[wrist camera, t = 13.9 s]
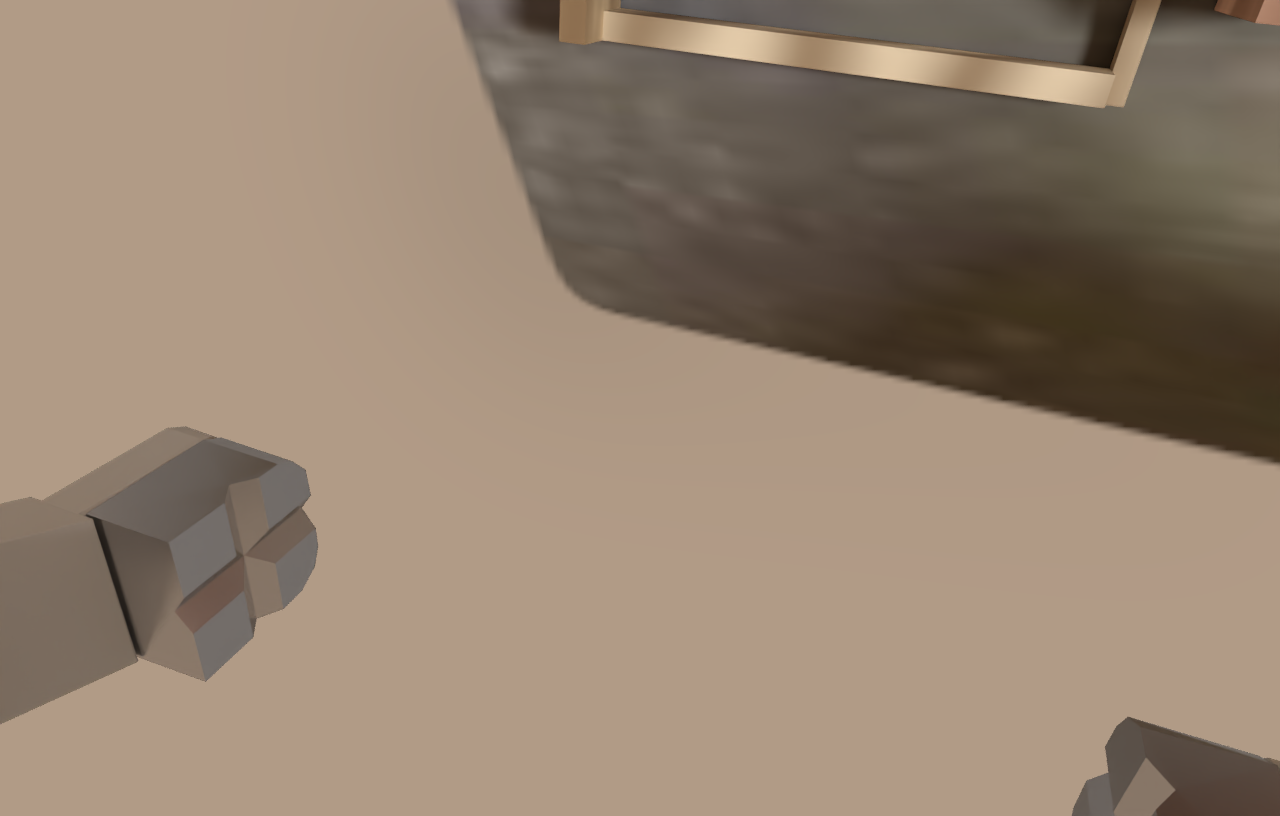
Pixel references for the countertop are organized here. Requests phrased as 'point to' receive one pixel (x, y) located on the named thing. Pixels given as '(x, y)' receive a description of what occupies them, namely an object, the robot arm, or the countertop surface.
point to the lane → (889, 50)
